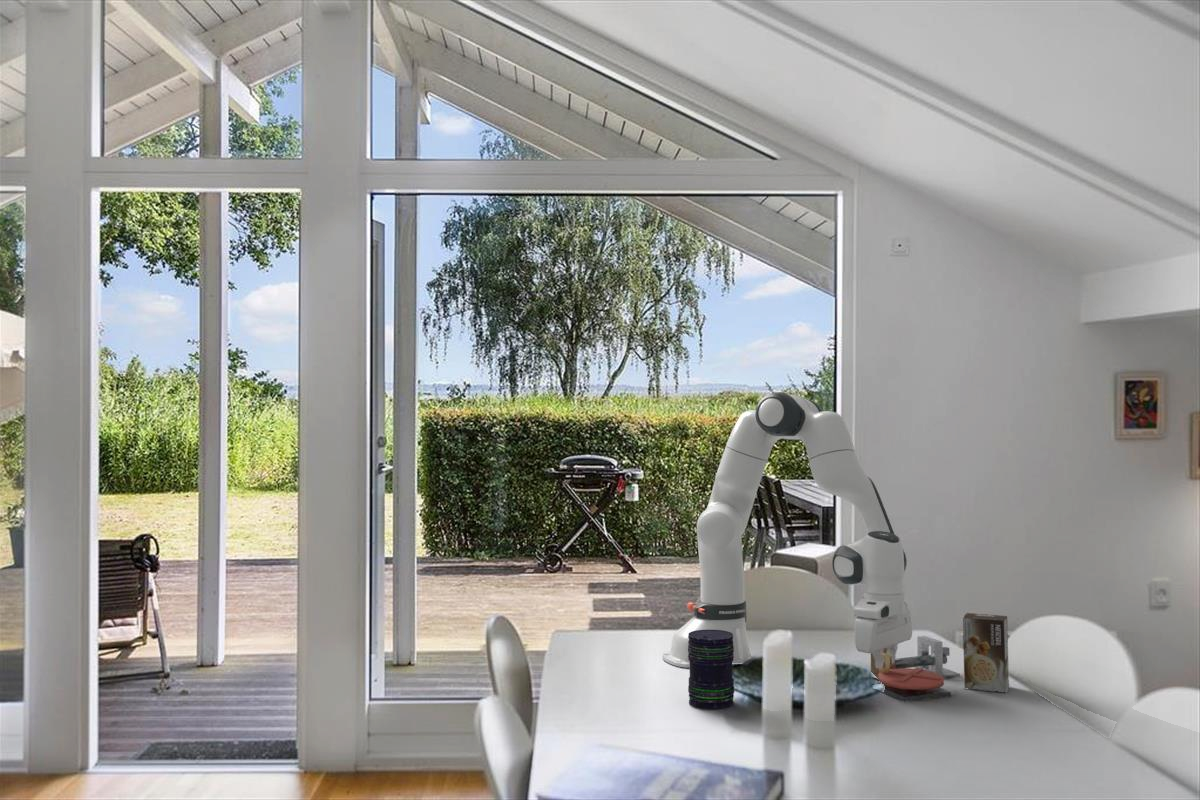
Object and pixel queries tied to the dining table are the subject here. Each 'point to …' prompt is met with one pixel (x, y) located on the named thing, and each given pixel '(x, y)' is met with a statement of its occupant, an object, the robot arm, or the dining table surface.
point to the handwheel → (909, 677)
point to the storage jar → (711, 669)
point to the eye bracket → (933, 656)
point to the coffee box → (985, 652)
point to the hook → (909, 661)
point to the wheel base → (915, 693)
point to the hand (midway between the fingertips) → (885, 666)
